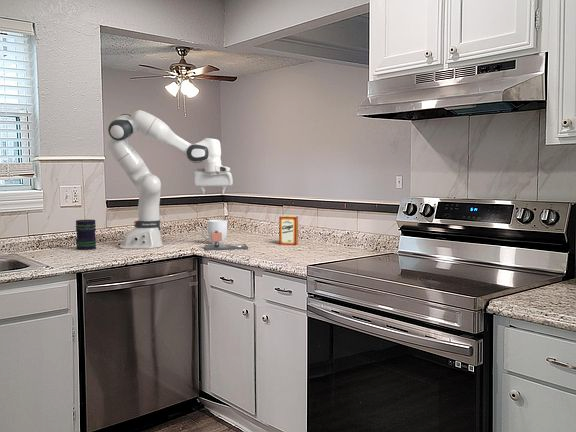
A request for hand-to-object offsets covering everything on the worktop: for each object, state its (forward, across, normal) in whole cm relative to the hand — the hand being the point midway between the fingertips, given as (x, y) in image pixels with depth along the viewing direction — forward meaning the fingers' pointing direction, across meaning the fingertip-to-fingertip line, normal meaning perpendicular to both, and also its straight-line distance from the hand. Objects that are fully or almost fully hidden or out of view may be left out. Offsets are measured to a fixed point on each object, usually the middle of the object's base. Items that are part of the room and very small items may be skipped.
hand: (213, 194), depth 299 cm
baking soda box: (+30, +38, +19) cm, 51 cm away
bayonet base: (+28, +6, -2) cm, 29 cm away
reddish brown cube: (+24, +1, -3) cm, 24 cm away
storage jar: (+27, -66, -12) cm, 72 cm away
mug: (+29, -3, +16) cm, 33 cm away
